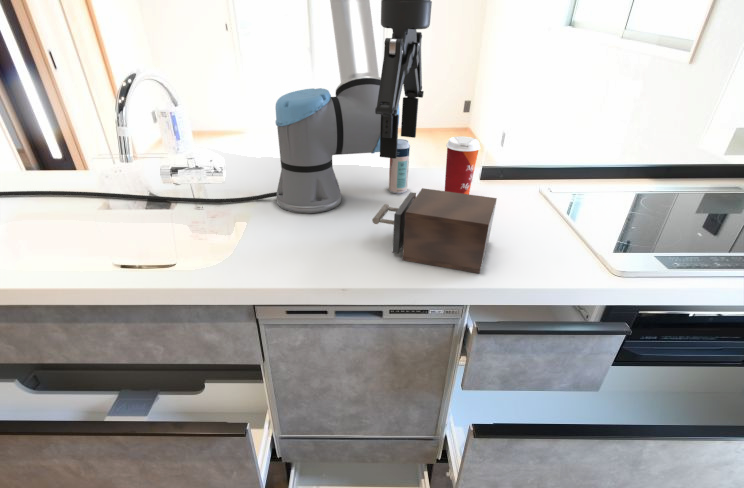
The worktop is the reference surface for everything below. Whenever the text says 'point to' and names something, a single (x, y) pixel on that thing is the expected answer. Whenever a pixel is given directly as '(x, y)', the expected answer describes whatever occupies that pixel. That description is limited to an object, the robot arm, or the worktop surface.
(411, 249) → the cabinet
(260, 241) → the worktop surface
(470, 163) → the paper cup
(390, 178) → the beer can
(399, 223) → the drawer
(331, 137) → the robot arm
